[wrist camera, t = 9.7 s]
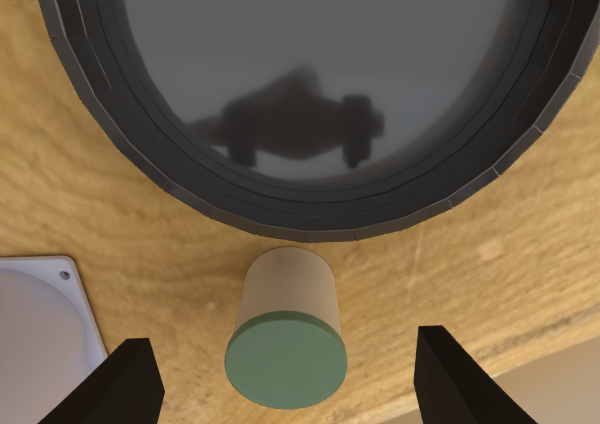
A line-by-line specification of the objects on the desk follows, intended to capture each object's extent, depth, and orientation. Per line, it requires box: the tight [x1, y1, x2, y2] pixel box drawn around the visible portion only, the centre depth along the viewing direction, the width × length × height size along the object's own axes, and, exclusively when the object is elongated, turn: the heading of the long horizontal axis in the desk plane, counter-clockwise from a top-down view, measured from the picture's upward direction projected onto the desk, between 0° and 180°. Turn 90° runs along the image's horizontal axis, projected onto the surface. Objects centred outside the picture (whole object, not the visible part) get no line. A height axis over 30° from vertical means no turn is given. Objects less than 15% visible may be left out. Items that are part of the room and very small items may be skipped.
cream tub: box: [225, 247, 347, 409], centre depth 18 cm, size 5×5×6 cm
